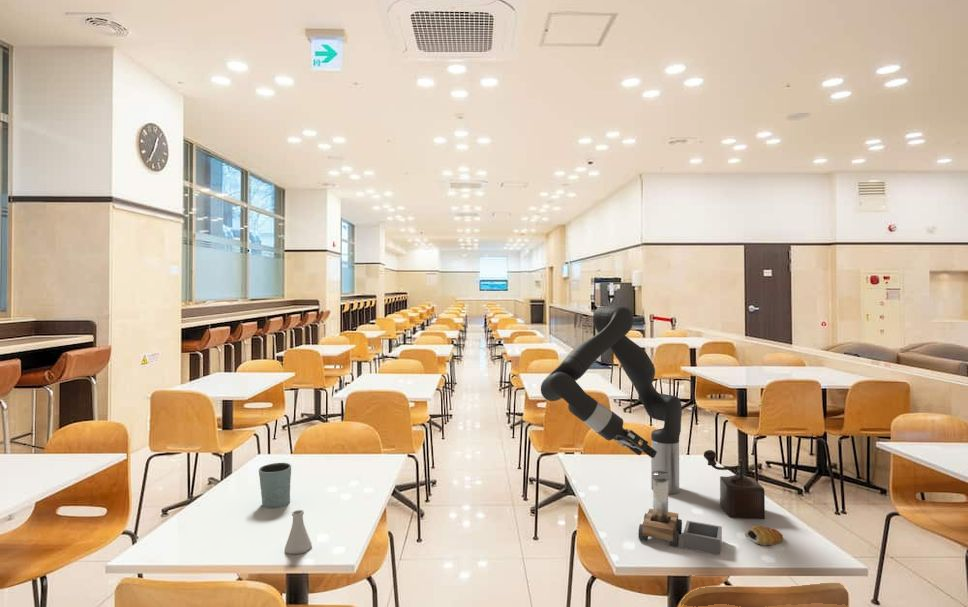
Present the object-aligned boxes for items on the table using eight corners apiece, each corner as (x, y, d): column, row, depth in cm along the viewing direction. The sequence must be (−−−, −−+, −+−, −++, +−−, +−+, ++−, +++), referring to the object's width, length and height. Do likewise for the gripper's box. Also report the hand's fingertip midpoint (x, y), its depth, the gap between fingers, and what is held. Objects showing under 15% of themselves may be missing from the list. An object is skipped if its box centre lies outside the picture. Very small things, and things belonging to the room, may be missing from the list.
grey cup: (280, 510, 169) (280, 473, 169) (252, 508, 171) (251, 471, 171) (297, 498, 179) (297, 463, 179) (271, 496, 181) (270, 461, 181)
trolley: (645, 521, 159) (645, 505, 159) (682, 528, 154) (682, 511, 154) (636, 541, 146) (636, 523, 146) (676, 549, 142) (676, 530, 141)
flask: (315, 542, 147) (315, 506, 147) (307, 554, 140) (307, 517, 140) (289, 542, 147) (288, 507, 147) (280, 555, 140) (279, 517, 140)
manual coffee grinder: (752, 505, 171) (752, 449, 170) (765, 519, 160) (765, 460, 160) (702, 503, 173) (701, 448, 173) (711, 517, 162) (711, 458, 162)
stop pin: (653, 521, 152) (653, 469, 152) (670, 524, 150) (670, 472, 150) (650, 528, 148) (650, 474, 148) (668, 531, 146) (668, 477, 146)
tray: (687, 534, 150) (686, 520, 150) (721, 540, 146) (721, 526, 146) (683, 548, 142) (683, 533, 142) (720, 555, 138) (720, 539, 138)
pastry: (771, 533, 151) (771, 520, 151) (790, 544, 144) (790, 530, 144) (742, 537, 149) (742, 523, 149) (759, 548, 142) (760, 534, 142)
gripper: (619, 409, 145) (666, 444, 146) (600, 409, 159) (643, 441, 159) (605, 432, 143) (653, 468, 144) (587, 430, 157) (630, 462, 158)
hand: (647, 453), depth 152 cm, fingers open, 8 cm apart
